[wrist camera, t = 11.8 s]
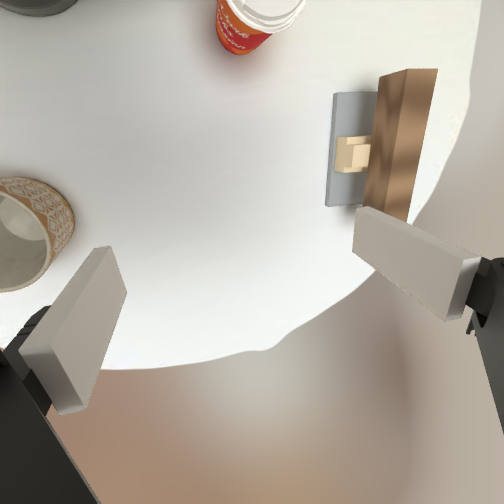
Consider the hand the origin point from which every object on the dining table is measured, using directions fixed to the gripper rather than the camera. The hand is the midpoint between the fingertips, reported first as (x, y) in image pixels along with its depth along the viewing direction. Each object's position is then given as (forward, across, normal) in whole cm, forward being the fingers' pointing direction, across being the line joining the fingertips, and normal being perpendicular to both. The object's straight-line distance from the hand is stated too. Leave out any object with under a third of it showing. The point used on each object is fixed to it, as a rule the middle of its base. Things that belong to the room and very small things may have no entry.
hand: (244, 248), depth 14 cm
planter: (+30, -25, -4) cm, 39 cm away
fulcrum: (+29, +25, 0) cm, 39 cm away
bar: (+23, +25, 0) cm, 34 cm away
